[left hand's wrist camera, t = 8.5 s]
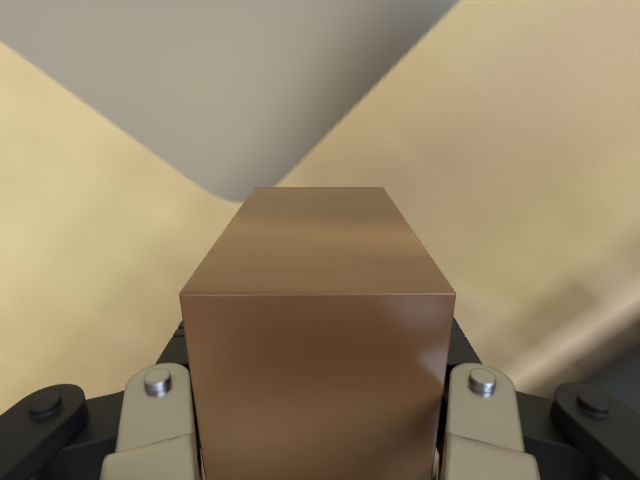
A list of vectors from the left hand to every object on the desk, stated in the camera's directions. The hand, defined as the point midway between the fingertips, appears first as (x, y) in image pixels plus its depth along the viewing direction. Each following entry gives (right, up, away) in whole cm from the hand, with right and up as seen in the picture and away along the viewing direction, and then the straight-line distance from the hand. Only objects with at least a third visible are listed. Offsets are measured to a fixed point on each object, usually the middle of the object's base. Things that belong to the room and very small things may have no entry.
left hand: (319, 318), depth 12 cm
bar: (0, -7, +7) cm, 10 cm away
